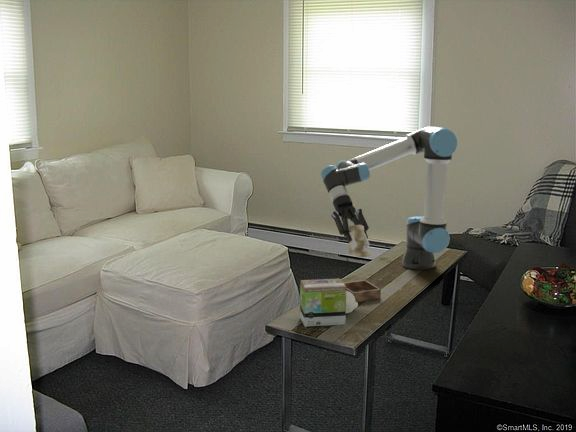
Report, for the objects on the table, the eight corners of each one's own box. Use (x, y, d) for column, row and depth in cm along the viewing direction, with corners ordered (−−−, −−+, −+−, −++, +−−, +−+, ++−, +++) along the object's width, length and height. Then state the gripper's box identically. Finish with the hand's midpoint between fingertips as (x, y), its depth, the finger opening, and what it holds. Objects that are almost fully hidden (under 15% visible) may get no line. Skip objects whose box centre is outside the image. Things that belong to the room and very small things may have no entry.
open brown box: (365, 289, 272) (365, 280, 271) (380, 298, 260) (380, 289, 260) (338, 292, 268) (338, 283, 267) (353, 302, 256) (353, 293, 255)
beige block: (359, 251, 265) (360, 224, 263) (370, 256, 258) (371, 228, 256) (349, 252, 263) (349, 226, 261) (359, 257, 256) (360, 230, 254)
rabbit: (330, 316, 242) (330, 285, 240) (322, 308, 251) (322, 278, 248) (361, 312, 246) (361, 282, 243) (351, 304, 254) (351, 274, 252)
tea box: (304, 328, 231) (304, 288, 228) (299, 318, 241) (299, 279, 238) (346, 325, 234) (346, 285, 230) (339, 315, 243) (340, 277, 240)
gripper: (356, 202, 277) (376, 249, 266) (318, 206, 269) (338, 254, 258) (363, 192, 271) (384, 239, 260) (324, 195, 263) (345, 244, 252)
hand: (361, 247), depth 259 cm, fingers closed on beige block, 5 cm apart
